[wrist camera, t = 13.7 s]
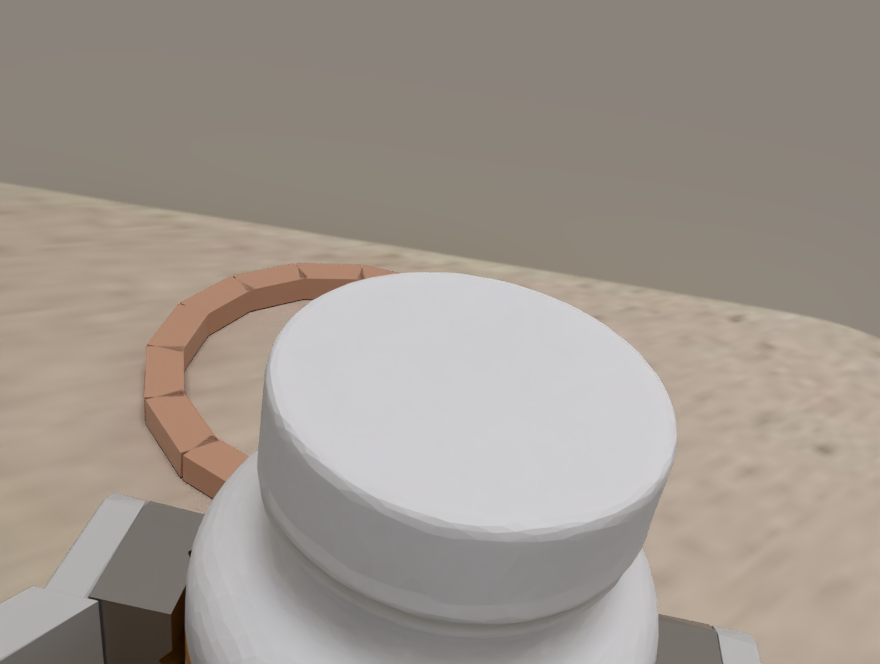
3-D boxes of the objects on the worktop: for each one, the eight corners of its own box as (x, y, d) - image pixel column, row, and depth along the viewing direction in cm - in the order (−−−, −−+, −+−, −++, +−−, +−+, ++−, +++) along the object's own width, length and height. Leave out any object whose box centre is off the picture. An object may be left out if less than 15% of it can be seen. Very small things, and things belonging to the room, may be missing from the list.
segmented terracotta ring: (63, 481, 24) (60, 455, 24) (230, 255, 36) (231, 235, 36) (542, 590, 24) (550, 567, 24) (552, 327, 36) (558, 308, 35)
